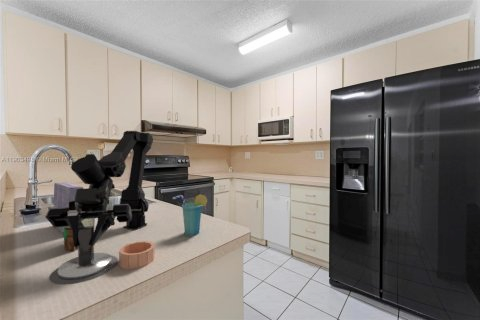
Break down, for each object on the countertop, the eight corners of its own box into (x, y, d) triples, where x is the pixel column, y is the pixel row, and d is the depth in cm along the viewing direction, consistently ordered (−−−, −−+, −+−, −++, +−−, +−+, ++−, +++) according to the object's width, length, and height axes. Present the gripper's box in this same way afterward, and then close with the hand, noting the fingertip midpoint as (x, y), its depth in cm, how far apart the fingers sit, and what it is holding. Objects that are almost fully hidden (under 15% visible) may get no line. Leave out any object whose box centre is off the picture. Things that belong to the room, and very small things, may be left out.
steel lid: (46, 275, 50) (45, 233, 50) (91, 254, 61) (90, 219, 61) (80, 283, 47) (79, 239, 47) (121, 260, 58) (121, 223, 57)
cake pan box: (84, 233, 79) (84, 185, 79) (68, 237, 75) (67, 187, 75) (67, 223, 90) (67, 181, 90) (52, 226, 86) (51, 182, 86)
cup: (178, 242, 71) (178, 197, 71) (167, 235, 77) (167, 194, 76) (211, 231, 81) (211, 192, 81) (199, 226, 87) (199, 190, 86)
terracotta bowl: (112, 267, 55) (111, 252, 55) (136, 253, 63) (136, 239, 63) (138, 272, 53) (138, 256, 53) (160, 257, 61) (160, 243, 61)
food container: (77, 239, 74) (77, 210, 73) (96, 238, 74) (95, 209, 74) (48, 255, 61) (48, 221, 61) (71, 255, 62) (70, 220, 62)
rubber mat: (34, 279, 49) (34, 277, 49) (92, 253, 63) (92, 251, 63) (78, 291, 45) (78, 289, 45) (130, 260, 59) (130, 258, 59)
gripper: (49, 177, 55) (19, 235, 44) (129, 175, 60) (120, 227, 50) (64, 201, 62) (42, 255, 52) (135, 197, 68) (127, 246, 57)
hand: (83, 245), depth 53 cm, fingers closed on steel lid, 3 cm apart
